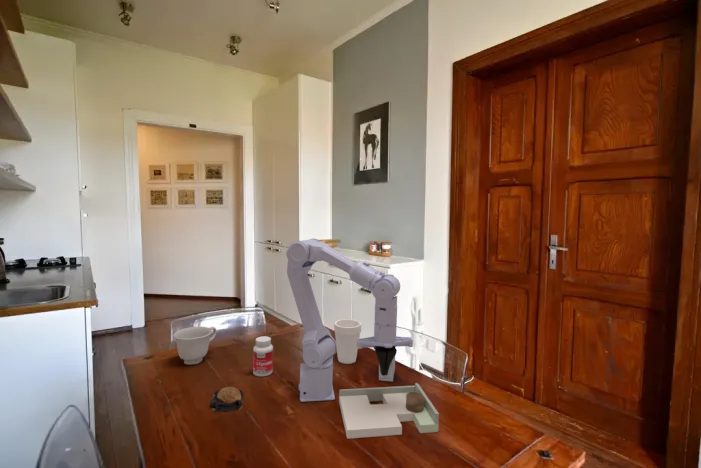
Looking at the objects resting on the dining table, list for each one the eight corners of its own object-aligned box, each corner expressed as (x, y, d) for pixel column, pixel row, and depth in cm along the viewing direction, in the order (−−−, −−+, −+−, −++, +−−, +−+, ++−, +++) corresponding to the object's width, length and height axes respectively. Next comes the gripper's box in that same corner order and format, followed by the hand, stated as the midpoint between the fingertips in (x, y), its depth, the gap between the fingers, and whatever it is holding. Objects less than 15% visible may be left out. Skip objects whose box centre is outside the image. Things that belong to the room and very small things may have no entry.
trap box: (347, 438, 82) (347, 419, 81) (338, 401, 97) (339, 385, 97) (438, 431, 85) (439, 413, 85) (416, 397, 100) (417, 382, 100)
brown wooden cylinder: (408, 412, 89) (408, 401, 89) (404, 403, 94) (404, 392, 93) (425, 412, 90) (426, 401, 89) (420, 402, 94) (421, 391, 94)
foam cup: (365, 359, 125) (366, 323, 124) (348, 368, 118) (349, 329, 117) (345, 352, 131) (346, 317, 130) (328, 359, 124) (328, 323, 123)
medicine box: (392, 382, 109) (393, 354, 108) (378, 380, 110) (379, 353, 109) (394, 371, 117) (395, 345, 116) (381, 369, 118) (382, 344, 117)
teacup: (226, 356, 125) (226, 328, 124) (187, 372, 112) (187, 341, 112) (205, 348, 131) (205, 322, 131) (166, 362, 119) (165, 333, 118)
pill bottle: (254, 378, 109) (254, 343, 109) (251, 370, 115) (251, 336, 114) (274, 375, 112) (275, 340, 111) (271, 367, 117) (271, 334, 117)
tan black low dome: (211, 395, 100) (211, 383, 100) (243, 391, 103) (243, 379, 103) (209, 416, 90) (209, 402, 90) (244, 411, 93) (244, 397, 92)
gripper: (360, 328, 87) (359, 382, 88) (417, 327, 89) (415, 379, 90) (355, 319, 94) (354, 369, 95) (408, 318, 96) (407, 367, 97)
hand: (383, 373), depth 93 cm, fingers closed
